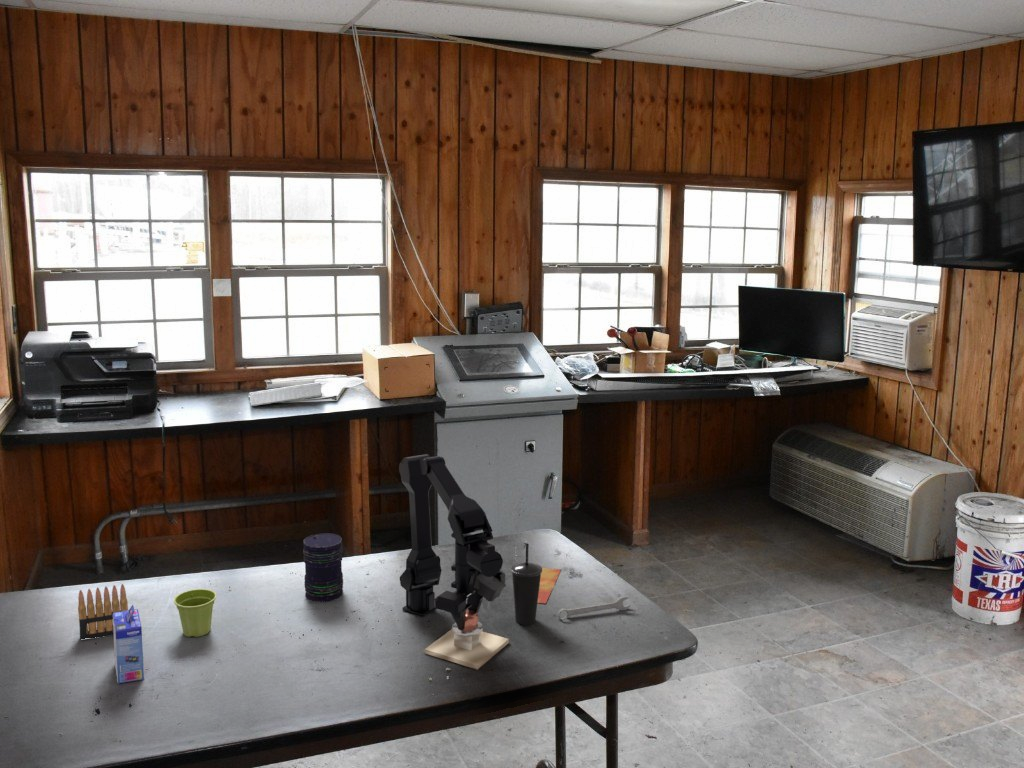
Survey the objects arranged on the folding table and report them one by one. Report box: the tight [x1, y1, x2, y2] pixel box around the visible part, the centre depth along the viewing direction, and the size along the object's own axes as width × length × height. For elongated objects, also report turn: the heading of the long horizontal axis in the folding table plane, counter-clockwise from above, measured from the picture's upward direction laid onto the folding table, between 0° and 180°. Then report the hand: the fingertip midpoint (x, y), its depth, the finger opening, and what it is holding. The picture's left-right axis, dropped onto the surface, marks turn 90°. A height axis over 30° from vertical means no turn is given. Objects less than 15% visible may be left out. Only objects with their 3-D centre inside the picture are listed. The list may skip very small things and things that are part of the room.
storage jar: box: [302, 532, 344, 603], centre depth 227 cm, size 10×10×15 cm
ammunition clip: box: [77, 583, 129, 641], centre depth 204 cm, size 11×2×12 cm, turn 114°
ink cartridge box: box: [113, 604, 145, 684], centre depth 188 cm, size 10×6×14 cm, turn 27°
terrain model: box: [537, 567, 562, 604], centre depth 239 cm, size 25×22×1 cm
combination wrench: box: [557, 595, 632, 621], centre depth 220 cm, size 4×1×20 cm
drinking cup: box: [510, 543, 543, 626], centre depth 214 cm, size 8×8×20 cm
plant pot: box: [173, 588, 217, 638], centre depth 207 cm, size 9×9×9 cm
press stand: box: [424, 628, 510, 671], centre depth 202 cm, size 14×14×4 cm
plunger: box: [451, 609, 484, 636], centre depth 201 cm, size 7×7×7 cm
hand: (467, 625), depth 201 cm, fingers closed on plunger, 5 cm apart
